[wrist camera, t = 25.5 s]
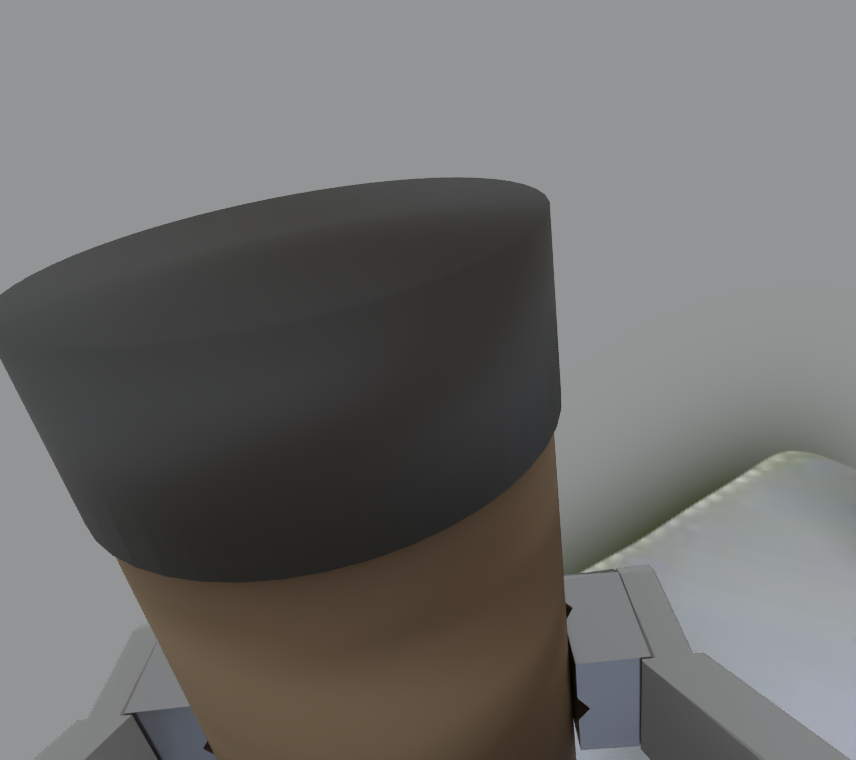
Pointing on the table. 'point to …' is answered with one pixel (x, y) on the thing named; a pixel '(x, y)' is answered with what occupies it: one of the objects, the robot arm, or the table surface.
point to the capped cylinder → (325, 462)
